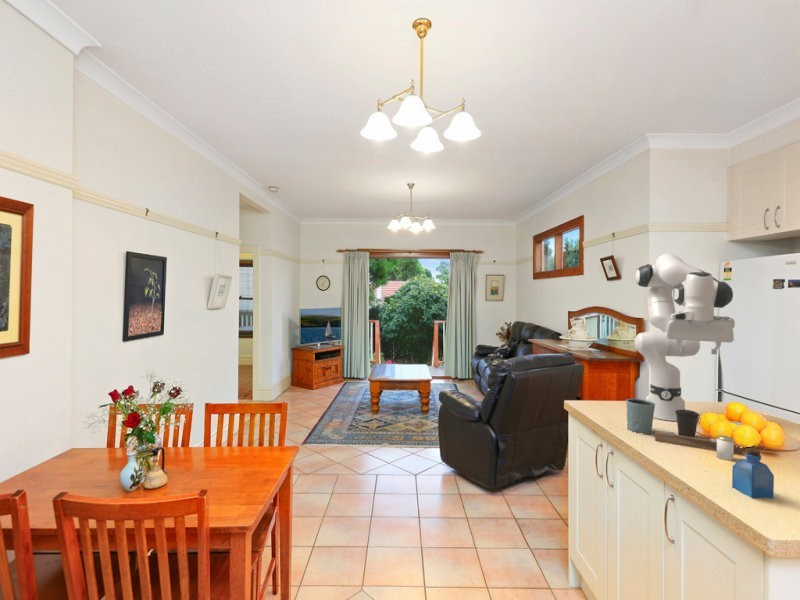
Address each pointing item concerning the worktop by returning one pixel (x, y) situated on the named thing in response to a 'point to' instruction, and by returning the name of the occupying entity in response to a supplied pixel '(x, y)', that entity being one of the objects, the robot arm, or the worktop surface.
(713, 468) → the worktop surface
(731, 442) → the round canister
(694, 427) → the coffee cup
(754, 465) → the perfume bottle
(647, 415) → the grey-green plant pot
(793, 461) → the worktop surface
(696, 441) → the walnut fence
